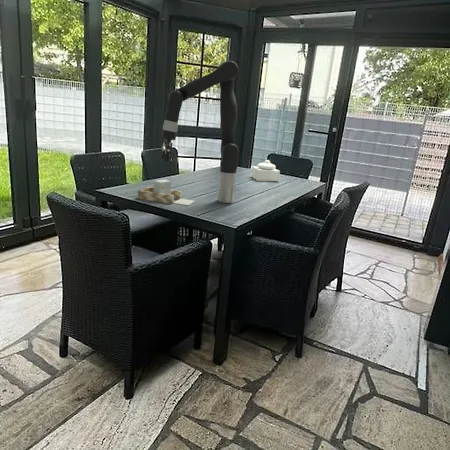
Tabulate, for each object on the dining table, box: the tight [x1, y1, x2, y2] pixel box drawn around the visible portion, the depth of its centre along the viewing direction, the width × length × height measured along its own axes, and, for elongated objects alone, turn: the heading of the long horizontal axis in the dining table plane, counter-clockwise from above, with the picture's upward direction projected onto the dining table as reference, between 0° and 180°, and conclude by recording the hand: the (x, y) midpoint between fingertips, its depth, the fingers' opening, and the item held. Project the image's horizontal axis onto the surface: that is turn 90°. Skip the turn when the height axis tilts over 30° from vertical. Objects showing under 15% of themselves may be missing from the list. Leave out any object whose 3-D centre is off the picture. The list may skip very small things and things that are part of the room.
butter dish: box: [250, 159, 281, 182], centre depth 293 cm, size 18×18×16 cm
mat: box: [173, 198, 196, 207], centre depth 203 cm, size 9×11×1 cm
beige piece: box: [137, 186, 183, 204], centre depth 206 cm, size 20×13×4 cm, turn 75°
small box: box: [153, 178, 172, 195], centre depth 205 cm, size 8×6×10 cm
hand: (164, 160), depth 198 cm, fingers open, 8 cm apart
